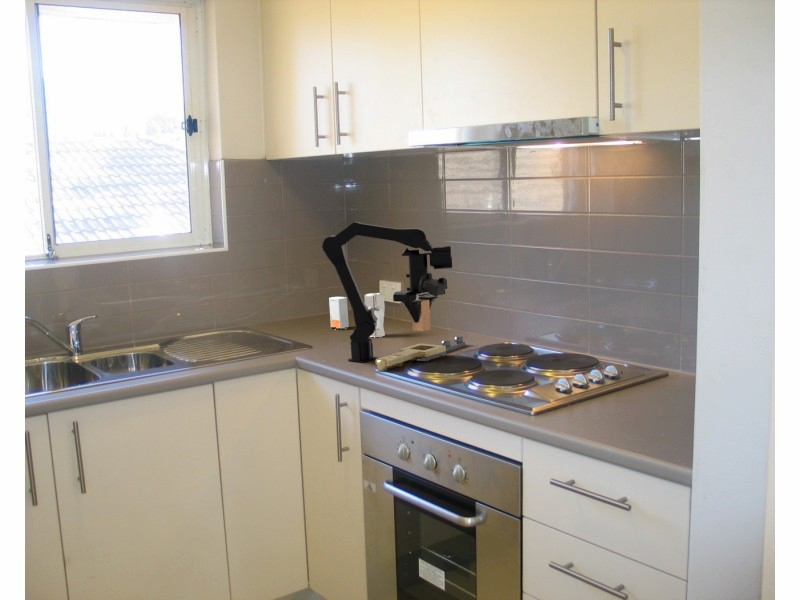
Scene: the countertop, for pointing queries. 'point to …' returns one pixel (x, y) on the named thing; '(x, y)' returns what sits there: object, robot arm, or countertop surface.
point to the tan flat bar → (419, 352)
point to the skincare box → (338, 312)
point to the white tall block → (376, 311)
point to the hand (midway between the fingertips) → (420, 321)
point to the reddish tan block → (422, 317)
